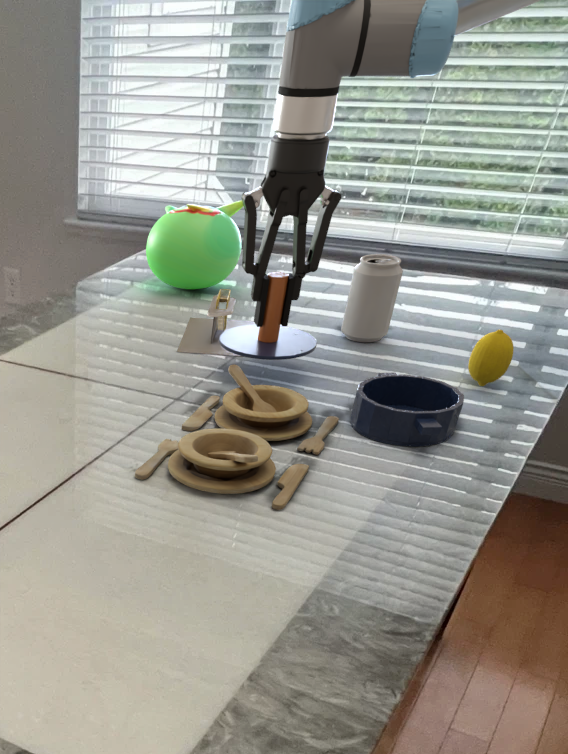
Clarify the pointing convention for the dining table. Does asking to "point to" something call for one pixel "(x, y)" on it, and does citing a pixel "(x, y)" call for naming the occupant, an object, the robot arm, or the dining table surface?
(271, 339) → the pan lid
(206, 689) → the dining table surface
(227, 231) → the toy bird
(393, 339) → the dining table surface
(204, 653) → the dining table surface
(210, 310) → the platform
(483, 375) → the lemon
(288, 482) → the tableware set
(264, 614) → the dining table surface
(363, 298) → the can
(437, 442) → the pan
